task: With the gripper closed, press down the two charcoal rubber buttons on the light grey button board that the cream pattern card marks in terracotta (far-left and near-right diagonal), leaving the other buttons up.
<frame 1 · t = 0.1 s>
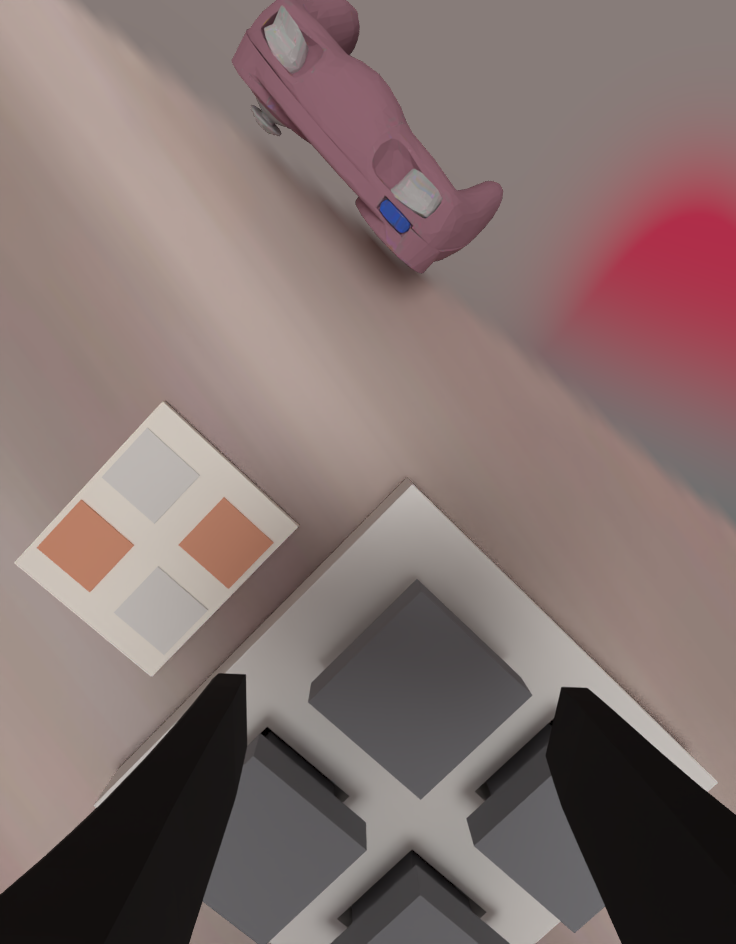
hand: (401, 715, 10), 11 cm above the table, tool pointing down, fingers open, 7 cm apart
button b: (561, 807, 19), point 3 cm above the table, slide at 0.0 cm
button c: (266, 818, 19), point 3 cm above the table, slide at 0.0 cm
button a: (414, 939, 20), point 3 cm above the table, slide at 0.0 cm
pattern card: (159, 542, 20), on the table
button board: (406, 759, 22), on the table
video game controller: (374, 178, 19), on the table
button d: (415, 674, 18), point 3 cm above the table, slide at 0.0 cm
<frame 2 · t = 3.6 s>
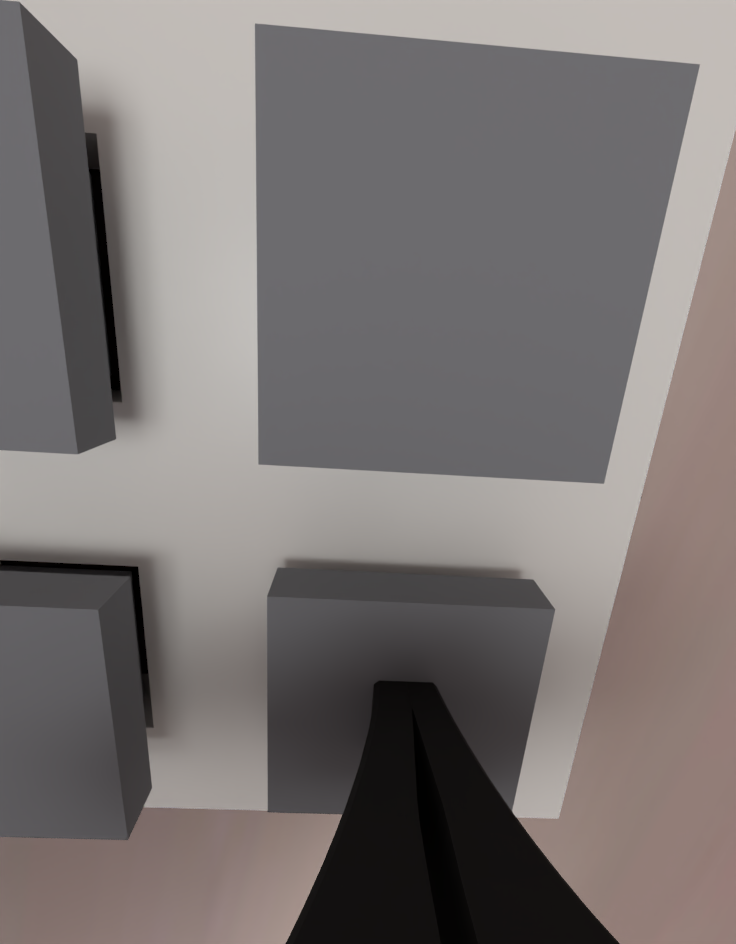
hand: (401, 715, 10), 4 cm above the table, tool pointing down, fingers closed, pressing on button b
button b: (395, 669, 11), point 2 cm above the table, slide at 0.7 cm, touching gripper
button a: (21, 675, 10), point 3 cm above the table, slide at 0.0 cm
button board: (240, 469, 12), on the table
button d: (437, 296, 8), point 3 cm above the table, slide at 0.0 cm
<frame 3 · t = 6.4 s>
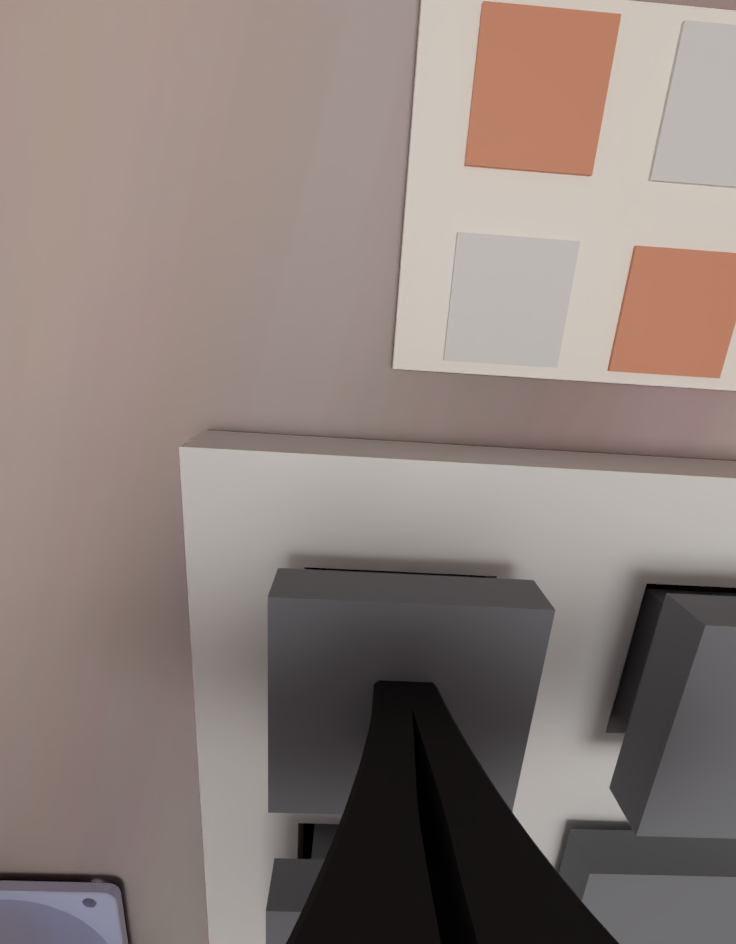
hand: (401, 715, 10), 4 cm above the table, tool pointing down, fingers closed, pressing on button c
button b: (634, 883, 15), point 2 cm above the table, slide at 1.0 cm
button c: (395, 669, 11), point 3 cm above the table, slide at 0.3 cm, touching gripper
button a: (372, 915, 14), point 3 cm above the table, slide at 0.0 cm
pattern card: (605, 215, 11), on the table
button board: (506, 726, 15), on the table
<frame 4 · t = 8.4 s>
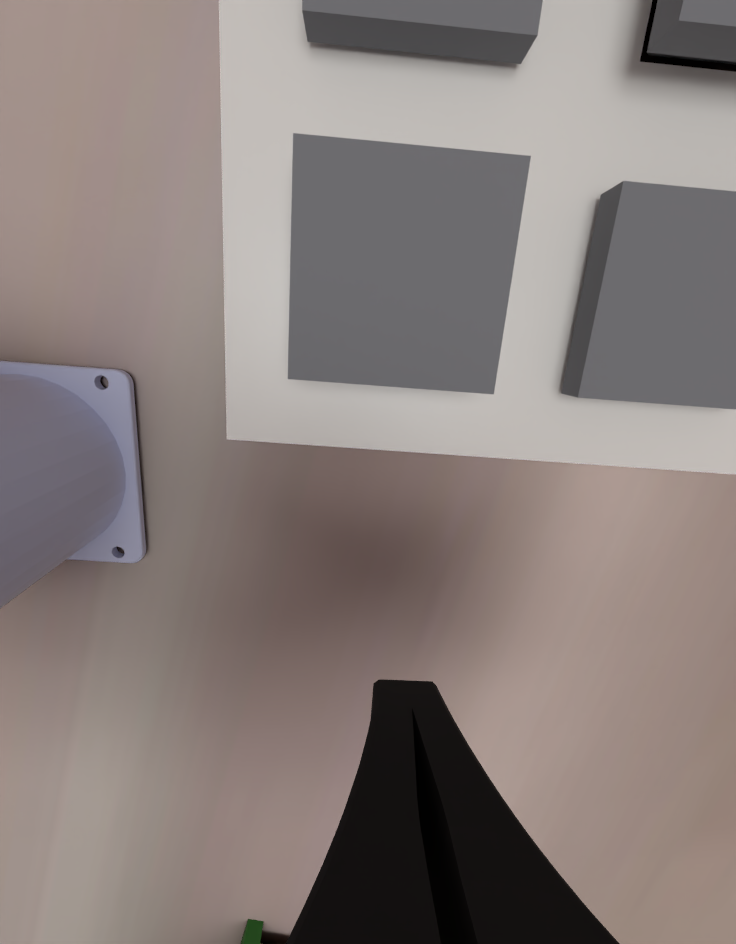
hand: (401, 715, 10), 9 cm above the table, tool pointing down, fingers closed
button b: (662, 308, 15), point 2 cm above the table, slide at 1.0 cm
button a: (397, 281, 13), point 3 cm above the table, slide at 0.0 cm
button board: (532, 162, 15), on the table
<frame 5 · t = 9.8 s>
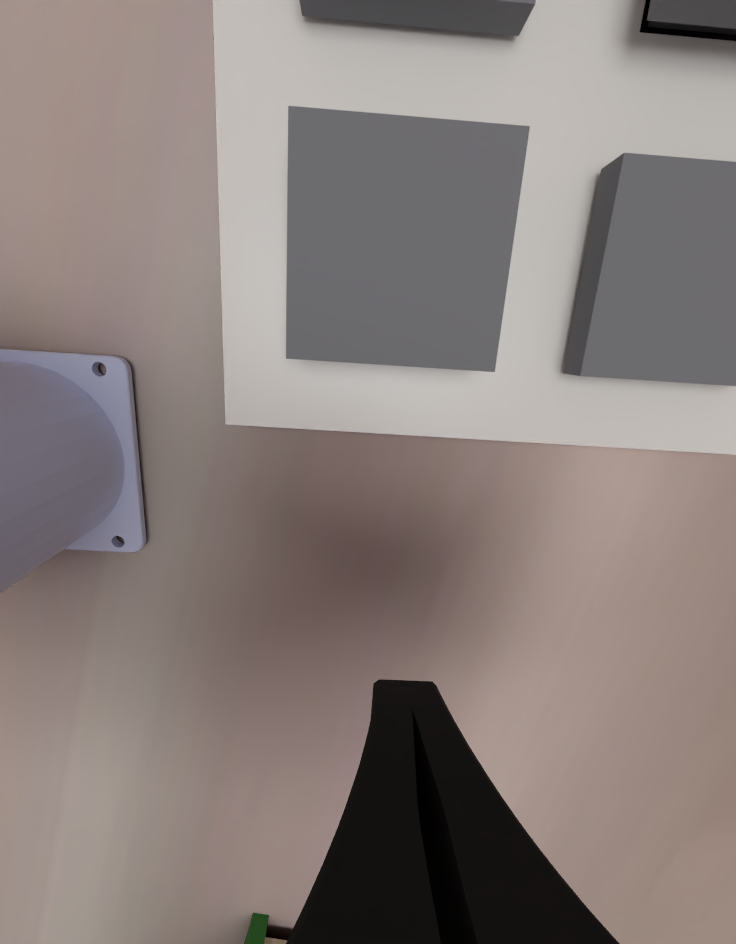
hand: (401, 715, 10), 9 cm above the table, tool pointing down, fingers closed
button b: (665, 285, 14), point 2 cm above the table, slide at 1.0 cm
button a: (395, 260, 13), point 3 cm above the table, slide at 0.0 cm
button board: (531, 140, 15), on the table
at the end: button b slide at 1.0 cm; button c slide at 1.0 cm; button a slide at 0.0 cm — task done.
